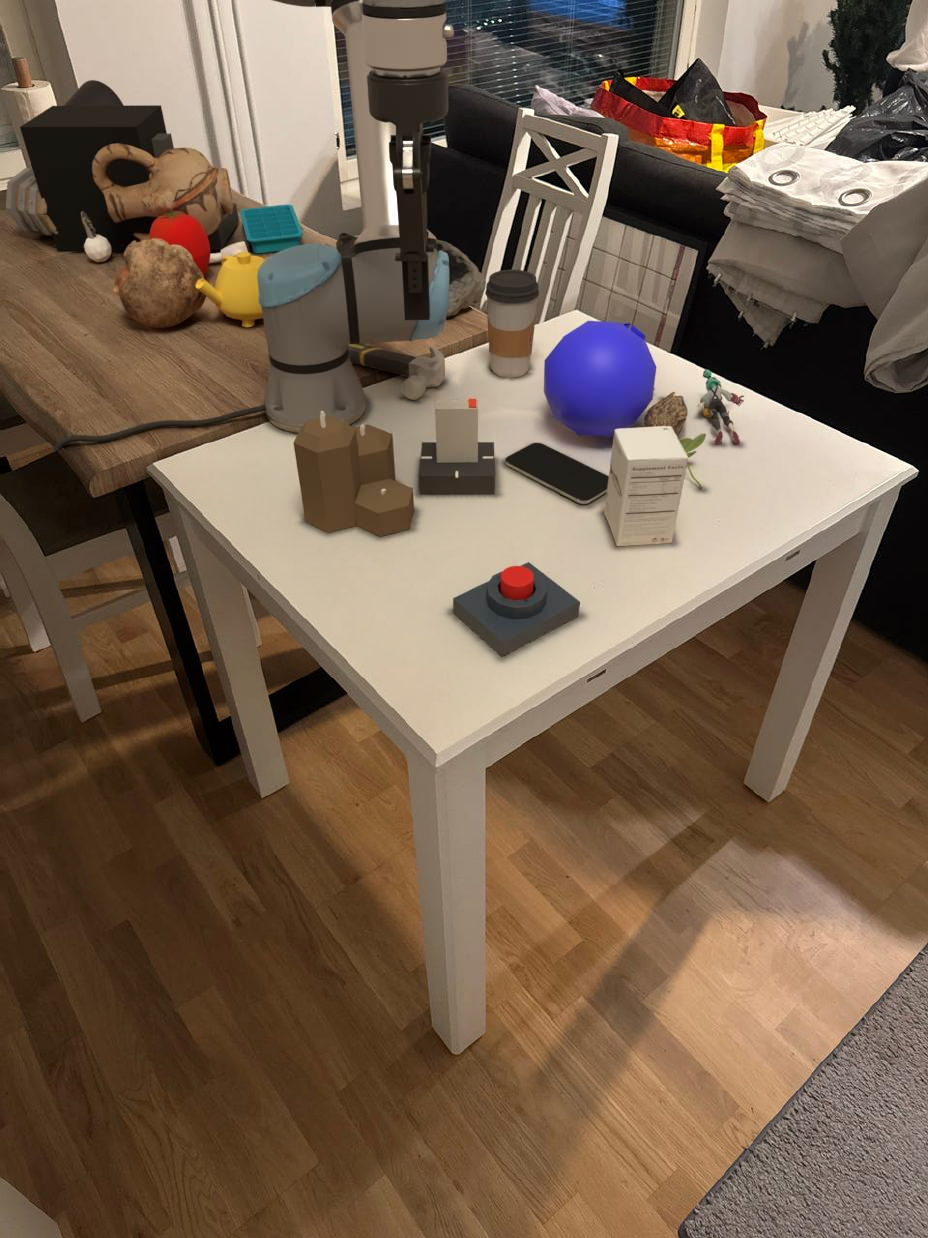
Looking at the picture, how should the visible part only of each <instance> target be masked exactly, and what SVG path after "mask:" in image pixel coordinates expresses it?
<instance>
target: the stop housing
mask: <svg viewBox="0 0 928 1238" xmlns="http://www.w3.org/2000/svg"><path fill="white" fill-rule="evenodd" d="M520 566H523V567H526V568H528V569H529V570H531V571H532V573H533V575H534V583H533V593H532V595H531V596H530V597H528V598H527V599H523V600H512V599H509V598H506V597H505V596H503V594H502V593H501V590H500V589H501V573H502V572H503V570H501V571H499V572H498V573H495V574H493V575H492V576H491V578H490V579H489V580H488V581H486V582H483V583H482V584H480V585H478V586H476V587H473V588H472V589H469V590H467V591H465V592H463V593H461V594H458V595H457V596H454V597H453V598H452V612H453V614H454V615H455V616H456V617H457V618H458V619H459V620H461V622H463V623H464V624H465V625H466V626H467V627H468V628H470V629H471V630H472V631H473V632H474V633H475V635H477V636H478V637H479V638H480V639H482V640H483V641H484V642H485V643H486V644H487V645H488V646H489V647H491V648H492V649H493V650H494V651H495V652H496V653H497V654H498V655H499V656H501V657H502V658H503V657H504V656H507V655H509V654H511V653H513V652H514V651H516V650H518V649H519V648H522V647H523V646H525V645H528V644H529V643H531V642H533V641H535V640H536V639H539V638H540V637H542V636H544V635H546V634H548V633H550V632H551V631H554V630H556V629H557V628H559V627H561V626H563V625H564V624H567V623H568V622H570V621H572V620H574V619H576V618H578V617H579V616H580V615H579V614H580V606H581V601H580V600H578V599H577V598H576V597H575V596H573V595H572V594H571V593H569V592H568V591H567V590H566V589H565V588H563V587H562V586H560V585H559V584H558V583H557V582H555V581H554V580H552V579H551V578H550V577H549V576H547V575H546V574H545V573H544V572H542V571H541V570H540V569H539V568H537V567H536V566H535V565H534V564H532V563H531V562H529V561H528V562H526V563H523V564H521V565H520Z"/></svg>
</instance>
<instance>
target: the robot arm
mask: <svg viewBox="0 0 928 1238" xmlns="http://www.w3.org/2000/svg"><path fill="white" fill-rule="evenodd" d="M272 1H273V2H277V3H279V4H284V5H290V6H296V7H304V8H313V7H314V8H330V12H331V13H330V14H331V21H332V24H333V25H334V26H335V28H337V30H339V31H340V32H341V33H342V34H343V35H344V38H345V48H346V58H347V60H346V61H347V69H348V70H347V71H348V80H349V90H350V100H351V101H350V102H351V111H352V121H353V132H354V134H353V135H354V143H355V153H356V154H355V156H356V164H357V166H356V167H357V175H358V176H357V177H358V185H359V196H360V208H361V218H362V231H361V232H360V234H359V236H357V237H358V238H357V240H356V241H355V242H354V250H355V257H351V258H341V255H340V253H339V252H338V250H337V249H336V248H337V247H335V246H334V245H331V244H327V243H325V244H322V243H319V242H318V243H305V244H300V245H299V246H295V247H291V248H288V249H285V250H282V251H276V252H275V253H274V254H272V255H269V256H268V257H269V258H267V257H266V258H267V259H266V258H265V259H266V260H265V261H264V262H263V263H262V264H261V266H260V268H259V270H258V274H257V280H258V289H259V297H258V301H259V304H260V305H261V308H262V314H263V318H262V320H263V326H264V331H265V333H264V334H265V339H266V347H267V353H268V359H269V371H268V376H267V378H268V379H267V382H266V388H265V393H264V404H261V405H258V406H257V405H256V406H252V407H249V408H245V409H241V410H237V411H233V412H229V413H225V414H222V415H219V416H215V417H210V418H205V419H193V420H188V419H187V420H186V419H184V420H181V419H173V420H172V419H171V420H170V419H169V420H157V421H151V422H147V423H142V424H139V425H135V426H132V427H129V428H126V429H124V430H123V429H122V430H120V431H117V432H112V433H108V434H103V435H87V434H85V435H84V434H75V435H74V434H73V435H69V436H65V437H63V438H61V439H60V440H59V441H58V442H57V443H55V445H54V446H53V451H55V452H57V451H60V450H62V449H63V448H64V447H65V446H66V445H68V444H71V443H75V442H76V443H77V442H85V443H87V442H88V443H103V442H104V443H105V442H110V441H113V440H118V439H121V438H124V437H129V436H130V435H134V434H136V433H140V432H144V431H148V430H152V429H157V428H164V427H203V426H209V425H215V424H219V423H222V422H226V421H229V420H232V419H233V420H234V419H236V418H240V417H244V416H248V415H252V414H257V413H261V412H265V416H266V418H267V420H268V421H269V422H270V423H271V425H273V426H274V427H276V428H278V429H281V430H283V431H286V432H291V433H296V434H298V432H299V430H300V428H301V426H302V425H303V424H305V423H306V422H307V421H308V420H311V419H315V418H320V413H321V411H324V413H325V416H331V417H333V418H336V419H338V420H341V421H343V422H345V423H347V424H349V425H350V426H351V425H352V424H354V423H355V422H356V421H358V420H359V419H361V417H362V416H363V415H364V413H365V412H366V408H367V403H366V394H365V391H364V388H363V386H362V383H361V382H360V379H359V374H358V373H357V372H356V370H355V368H354V366H353V363H352V362H351V361H350V358H349V350H348V345H350V344H364V345H368V344H378V343H393V342H394V343H397V342H411V343H412V342H415V341H418V340H427V339H434V338H436V337H438V336H439V335H440V334H441V333H442V332H443V331H444V328H445V325H446V320H447V316H446V315H447V307H448V296H449V257H448V254H447V253H446V252H443V251H438V252H437V245H436V240H437V237H436V236H435V235H434V234H433V233H432V232H431V231H430V230H429V229H428V207H427V205H428V204H427V203H428V202H427V201H428V200H427V191H428V189H429V183H430V176H431V175H430V160H431V153H432V134H424V123H433V122H437V121H440V120H442V119H443V118H445V117H446V116H447V115H448V112H449V73H447V72H446V70H445V69H444V68H442V67H443V66H444V65H445V64H446V63H447V61H448V50H447V49H448V42H447V40H446V39H450V38H452V37H453V36H455V30H454V27H453V25H452V24H445V22H446V21H447V0H272Z"/></svg>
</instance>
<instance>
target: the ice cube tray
mask: <svg viewBox="0 0 928 1238" xmlns="http://www.w3.org/2000/svg"><path fill="white" fill-rule="evenodd" d="M239 213H240V217H241V221H242V225H243V229H244V234H245V238H246V241H247V242H250V245H251V250H252V252H253V253H254V254H263V253H264V254H265V253H273V252H280V251H282V250H285V249H288V248H291V247H295V246H299V245H301V237H302V236H304V232H303V230H302V226H301V224H300V222H299V219H298V216H297V214H296V210H295V209H294V205H292V204H278V205H267V206H259V207H250V208H249V207H247V208H243V209H240V212H239Z"/></svg>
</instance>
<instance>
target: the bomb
mask: <svg viewBox="0 0 928 1238" xmlns="http://www.w3.org/2000/svg"><path fill="white" fill-rule="evenodd" d="M630 327H631V328H630ZM646 338H647V336H646V335H645V334H644V333H643V332H642V331H641V330H639V329H638V328H637V327H636V326H635V325H631V323H629V322H627V323H622V322H621V321H619V322H618V321H602V320H601V321H600V320H587V321H585V322H584V323H582V324H581V325H578V326H577V327H576V328H574V329H572V330H571V331H570V332H568V333H567V334H565V335H563V337H561V339H560V340H559V342H558V343H557V344H556V345H555V346H554V348H553V349H552V350H551V351H550V352H549V354H548V355H547V356H546V357H545V359H544V367H543V369H544V370H543V371H544V372H543V394H544V396H545V399H546V401H547V404H548V405H547V406H548V407H549V411H550V413H551V416H552V418H554V419H555V420H556V421H558V422H559V423H560V424H562V426H564V427H566V428H567V429H568V430H570V431H571V432H572V433H574V434H575V435H577V436H581V437H582V436H583V437H600V438H610V437H612V436H614V430H615V429H622V428H631V427H632V426H634V425H635V424H636V423H637V421H638V420H639V419H640V417H641V416H642V414H643V413H644V412H645V411H646V409H647V408H648V406H649V405H650V404H651V402H652V401H653V399H654V391H655V383H656V375H657V365H656V363H655V360H654V358H653V355H652V353H651V351H650V349H649V346H648V344H647V342H646Z"/></svg>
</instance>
